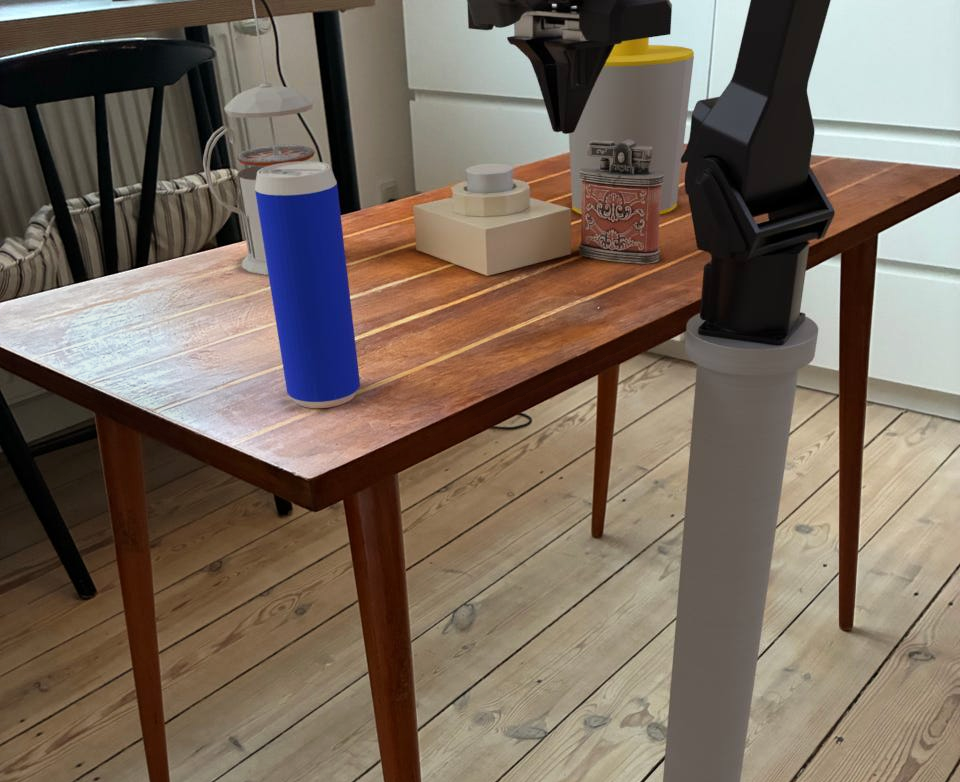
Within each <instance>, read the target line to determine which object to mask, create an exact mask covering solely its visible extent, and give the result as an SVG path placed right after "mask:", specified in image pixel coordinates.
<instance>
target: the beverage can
mask: <svg viewBox="0 0 960 782" xmlns="http://www.w3.org/2000/svg"><path fill="white" fill-rule="evenodd" d="M255 180H256V184H255V193H256V199H257V205H258V212H259V218H260V224H261V231H262V237H263V243H264V250H265V256H266V262H267V268H268V275H267V276H268V280H269V287H270V293H271V299H272V307H273V312H274V318H275V325H276V331H277V338H278V344H279V349H280V356H281V362H282V369H283V375H284V382H285V387H286V393H287V395H288V396H289V397H290V399H291V400H292V401H293V402H294V403H296V405H298V406H300V407H304V408H309V409H326V408H334V407H338V406H341V405H344V404H346V403H349V402H350V401H351V400H353V398H354V397H355V396H356V394H358V391H359V389H360V387H361V380H360V372H359V364H358V354H357V353H358V352H357V347H356V346H357V344H356V337H355V336H356V335H355V329H354V321H353V320H354V319H353V318H354V317H353V310H352V302H351V301H352V300H351V293H350V284H349V277H348V276H349V275H348V267H347V259H346V258H347V257H346V249H345V242H344V241H345V240H344V233H343V224H342V215H341V214H342V213H341V207H340V198H339V197H340V196H339V189H338V182H337V179H336V177H335V175H334V172H333V170H332V167H331V165H330V164H329V163H325V162H323V161H312V160H311V161H310V160H306V161H298V162H287V163H280V164H274V165H270V166H267V167H264V168H262V169H260V170H258V172H257V177H256V179H255Z"/></svg>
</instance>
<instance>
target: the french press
mask: <svg viewBox="0 0 960 782" xmlns="http://www.w3.org/2000/svg"><path fill="white" fill-rule="evenodd" d="M251 4H252V10H253V16H254V23H255V31H256V37H257V44H258V51H259V57H260V64H261V70H262V77H263V83H261V84H260V85H259V86H255V87H253V88H249V89H246V90H243V91H241V92H240V93H238V94H237V95H235V96H234V97H233V98H232V99H231V100H230V101H229V102H228V103H227V104H226V105H224V107H223V108H224V112H225V114H226V115H227V116H229V117H231V118H236V119H237V118H240V119H242V118H243V119H248V118H249V119H250V118H251V119H253V118H256V119H257V118H260V119H261V118H269V125H270V131H271V138H272V144H273V146H272V145H270V146H269V145H266V146H260V147H259V146H258V147H254V148H250V149H247V150H243V151H242V152H240V153H239V154H238V155H237V160H238V162H239V163H240V164H243V165H246V166H249V167H246V168H244V169H242V170H240V171H238V172H237V179H238V184H239V190H240V198H241V201H242V202H241V203H242V208H243V210H242V209H241V208H239V207H236V206H234V205H231V204H228V203H226V202H225V201H224V200H223V199H221V197H220V195H219V193H218V192H217V190H216V188H215V186H214V184H213V180H212V174H211V157H212V152H213V149H214V147H215V146H216V144H217V142H218V141H219V139H220V138H221V137H222V136H223V135H225V134H226V133H227V135H228V141H229V142H230V144H231V145H233V146H235V145H236V137H235V132H234V130H232V128H230V127H229V126H227V125H222V126H221V127H219V128H218V129H216V130H215V131H214V132H213V133H212V134H211V136H210V138H209V139H208V140H207V142H206V145H205V148H204V153H203V160H202V166H203V171H204V176H205V181H206V183H207V186H208V188H209V190H210V192H211V193H212V195H213V196H214V198H215V199H216V200H217V201H218V202H219V203H220V205H222V206H223V207H224V208H226V209H227V210H228V211H231V212H233V213H235V214H238V215H241V219H242V224H243V230H244V236H245V242H246V248H247V255H246V256H245V258H244V259H242V260H243V261H242V262H241V268H242V269H244V270H245V271H247V272H249V273H252V274H258V275H265V276H269V275H268V268H267V262H266V256H265V250H264V243H263V237H262V231H261V224H260V218H259V212H258V205H257V199H256V193H255V184H256V177H257V172H258V170H260V169H262V168H264V167H267V166H270V165H274V164H280V163H287V162H298V161H309V160H310V159H311V158H313V157H314V155H315V150H314V148H312V147H310V146H307V145H302V144H301V145H298V144H294V145H292V144H287V146H286V145H283V144H281V145H279V144H276V138H275V132H274V131H275V130H274V124H273V118H274V117H283V116H290V115H296V114H302V113H306V112H309V111H310V110H312V109H313V106H314V101H313V99H312V98H310V97H309V96H307V95H305V94H304V93H302V92H301V91H299V90H297V89H294V88H290V87H288V86H281V85H272V83H270V82H267V77H266V70H265V63H264V58H263V57H264V56H263V50H262V45H261V37H260V36H261V35H260V31H259V24H258V23H259V22H258V18H257V10H256V3H255V0H251Z"/></svg>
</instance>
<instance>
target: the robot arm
mask: <svg viewBox="0 0 960 782" xmlns="http://www.w3.org/2000/svg"><path fill="white" fill-rule="evenodd" d="M831 1H832V0H750V1H749V6H748V10H747V15H746V19H745V23H744V27H743V32H742V36H741V41H740V45H739V49H738V54H737V60H736V62H735V67H734V71H733V74H732V77H731V79H730V81H729V83H728V84H727V85H726V87H725V88H724V90H723V91H722V92H721V94H720V96H716V97H715V96H714V97H710V98H705V99H700V100H698V101H696V103H695V106H694V108H693V111H692V113H691V119H690V128H689V129H690V131H689V137H688V141H687V145H686V148H685V150H684V151H683V154H682V157H681V164H686V166H685V172H684V192H685V195H686V196H688V197H687V198H688V202H689V208H690V209H689V210H690V213H691V219H692V226H693V231H694V236H695V243H696V247H697V249H698V250H699V251H702V252H705V253H708V254H709V255H710V257H711V259H710V260H709V261H707V263H706V264H705V265H703V270H702V271H703V272H702V273H703V274H702V285H701V299H700V311H699V313H700V318H701V319H702V320H706V321H705V322H704V323H703V324H701V325H700V326H699V327H698V334H699V335H703V336H710V337H717V338H725V339H732V340H739V341H746V342H754V343H761V344H768V345H776V346H780V345H784V344H785V343H786V342H787V340H788V339H789V338H790V337H791V336H792V335H793V333H794V332H795V331H796V330H797V329H798V328H799V326H800V325H801V324H802V323H803V322H804V320H805V316H806V313H805V312H801V308H802V301H803V300H802V299H803V293H804V286H805V278H806V273H807V272H806V271H807V264H808V259H809V257H808V256H809V249H810V241H813V240H821V239H824V238H825V236H826V235H827V232H828V231H829V228H830V225H832V222H833V220H834V218H835V214H836V211H835V208H834V207H833V204H832V203H831V201H830V199H829V198H828V196H827V194H826V193H825V190H824V189H823V187H822V185H821V183H820V182H819V180H818V179H817V176H816V175H815V173H814V171H813V169H812V167H811V166H810V165H811V159H812V153H813V146H814V145H813V144H814V139H815V132H816V131H815V124H814V120H813V114H812V109H811V106H810V105H811V104H810V98H809V95H808V85H809V81H810V78H811V77H810V76H811V73H812V69H813V65H814V62H815V58H816V55H817V51H818V48H819V44H820V40H821V37H822V34H823V29H824V26H825V23H826V19H827V15H828V12H829V9H830V5H831ZM466 3H467V4H466V5H467V25H468V26H467V27H468V29H470V30H478V31H479V30H480V31H491V30H493V29H494V27H495V28H498V29H499V28H500V29H502V28H503V29H504V28H507V27H509V26H512V25H513V30H514V31H513V33H514V34H513V35H512V36H511V35H510V36H506V39H507V42H508V44H510V45H512V46H515V47H516V48H517V49H518V50H519V51H520V52H521V53H522V54H524V55H525V57H526V58H527V59H528V61H530V64H531V67H532V69H533V72H534V74H535V77H536V80H537V83H538V87H539V89H540V93H541V96H542V99H543V102H544V106H545V109H546V112H547V116H548V119H549V123H550V126H551V129H552V131H553V132H555V133H560V132H561V133H562V134H564V135H569V133H573V132H574V131H575V129H576V127H577V124H578V122H579V120H580V117H581V115H582V113H583V110H584V108H585V106H586V103H587V101H588V99H589V96H590V94H591V92H592V89H593V87H594V85H595V83H596V81H597V78H598V76H599V74H600V72H601V70H602V69H603V67H604V65H605V63H606V61H607V59H608V57H609V55H610V53H611V51H612V49H613V48H614V46H615V44H621V43H622V41H629V40H636V39H643V38H649V39H650V38H656V37H663V36H669V35H671V33H672V32H671V31H672V14H673V4H672V2H671V1H670V0H466ZM766 214H767V216H768V220H764V221H761V222H756V220H755V218H756V217H760V216H763V215H766Z"/></svg>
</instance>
